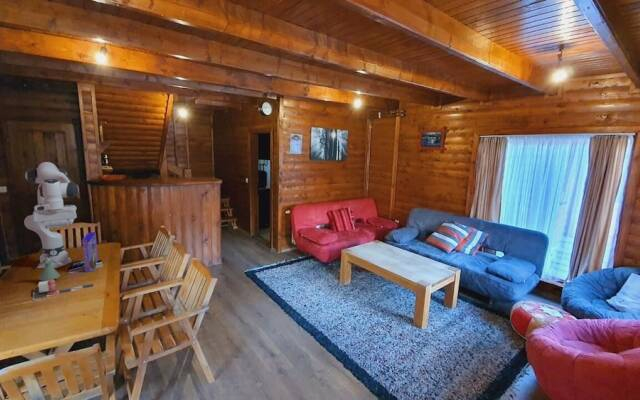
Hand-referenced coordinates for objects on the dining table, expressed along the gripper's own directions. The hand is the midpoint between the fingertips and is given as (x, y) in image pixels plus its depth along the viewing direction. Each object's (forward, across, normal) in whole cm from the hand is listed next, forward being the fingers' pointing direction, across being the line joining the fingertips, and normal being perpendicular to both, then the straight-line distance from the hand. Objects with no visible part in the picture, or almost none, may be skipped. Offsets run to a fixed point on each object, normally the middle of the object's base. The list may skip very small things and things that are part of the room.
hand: (56, 227), depth 179 cm
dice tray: (+37, +8, +8) cm, 39 cm away
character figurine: (+37, +7, -6) cm, 38 cm away
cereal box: (+37, -16, -18) cm, 44 cm away
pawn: (+36, +4, +16) cm, 40 cm away
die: (+37, +8, +8) cm, 38 cm away
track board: (+37, -1, +16) cm, 40 cm away
